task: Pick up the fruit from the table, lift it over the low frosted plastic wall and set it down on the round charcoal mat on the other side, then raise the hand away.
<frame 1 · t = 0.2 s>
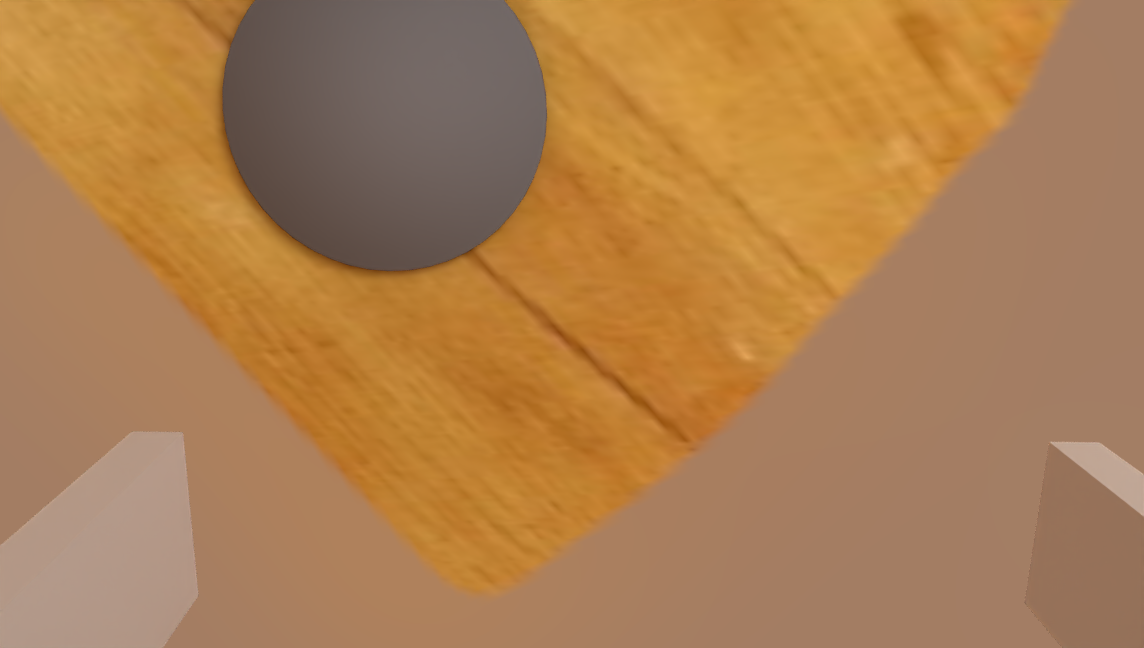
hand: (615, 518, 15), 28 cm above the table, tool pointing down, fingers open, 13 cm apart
mat: (388, 111, 40), on the table
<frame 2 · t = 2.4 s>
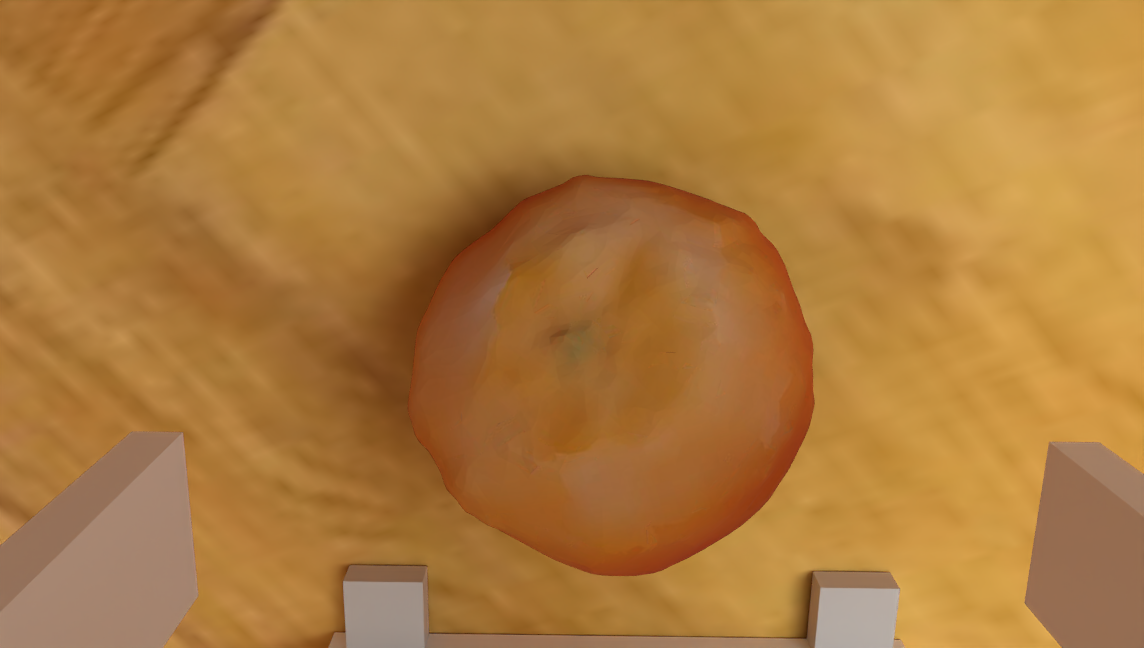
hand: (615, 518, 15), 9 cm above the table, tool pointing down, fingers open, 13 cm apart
fruit: (607, 324, 24), on the table
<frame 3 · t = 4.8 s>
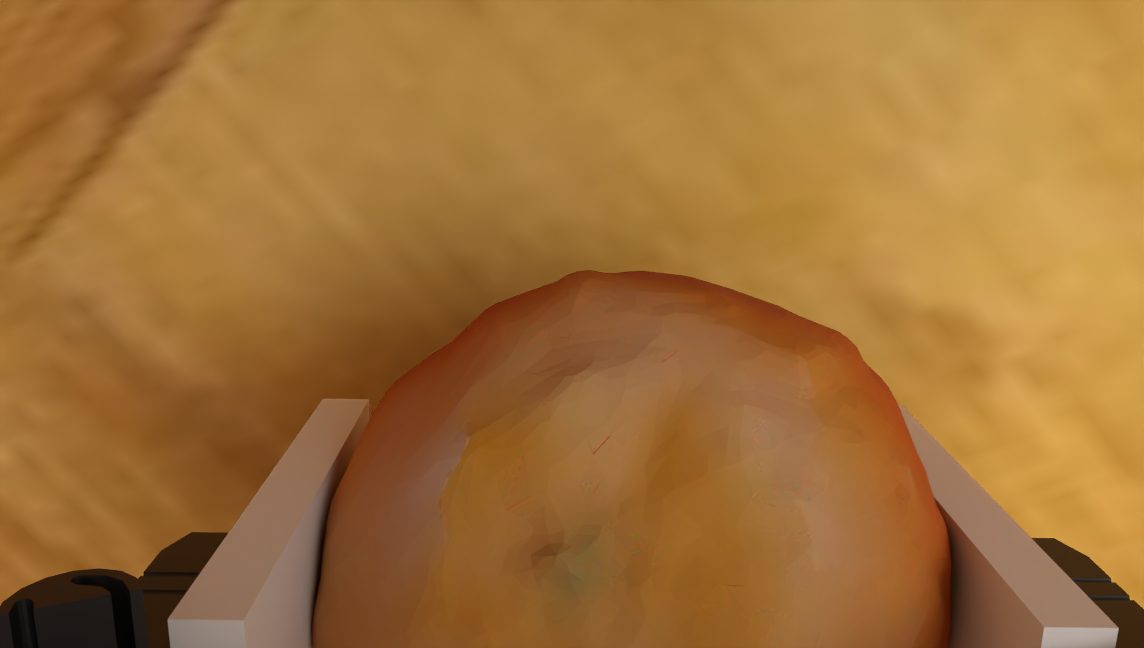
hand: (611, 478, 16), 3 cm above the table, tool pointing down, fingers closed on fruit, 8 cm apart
fruit: (616, 459, 17), point 3 cm above the table, touching gripper
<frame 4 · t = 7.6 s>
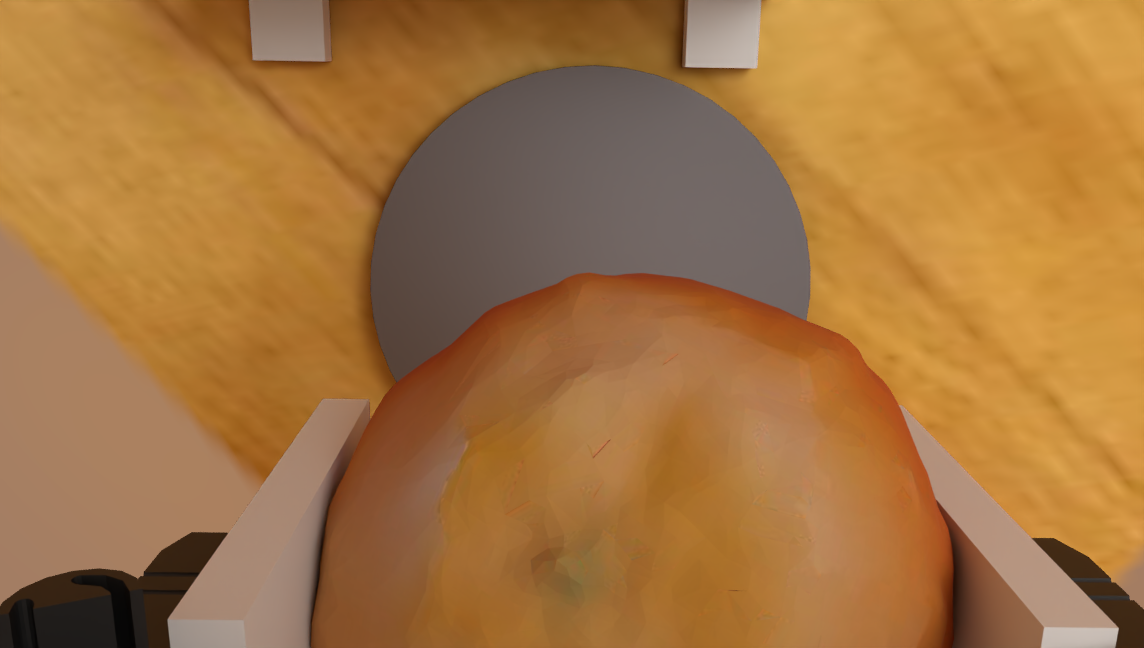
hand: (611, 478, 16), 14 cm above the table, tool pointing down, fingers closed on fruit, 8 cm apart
mat: (590, 286, 30), on the table
fruit: (616, 461, 17), point 13 cm above the table, touching gripper
when the fingers open (1 cm above the table, at t = 10.6 s): fruit stays where it is, resting on mat.
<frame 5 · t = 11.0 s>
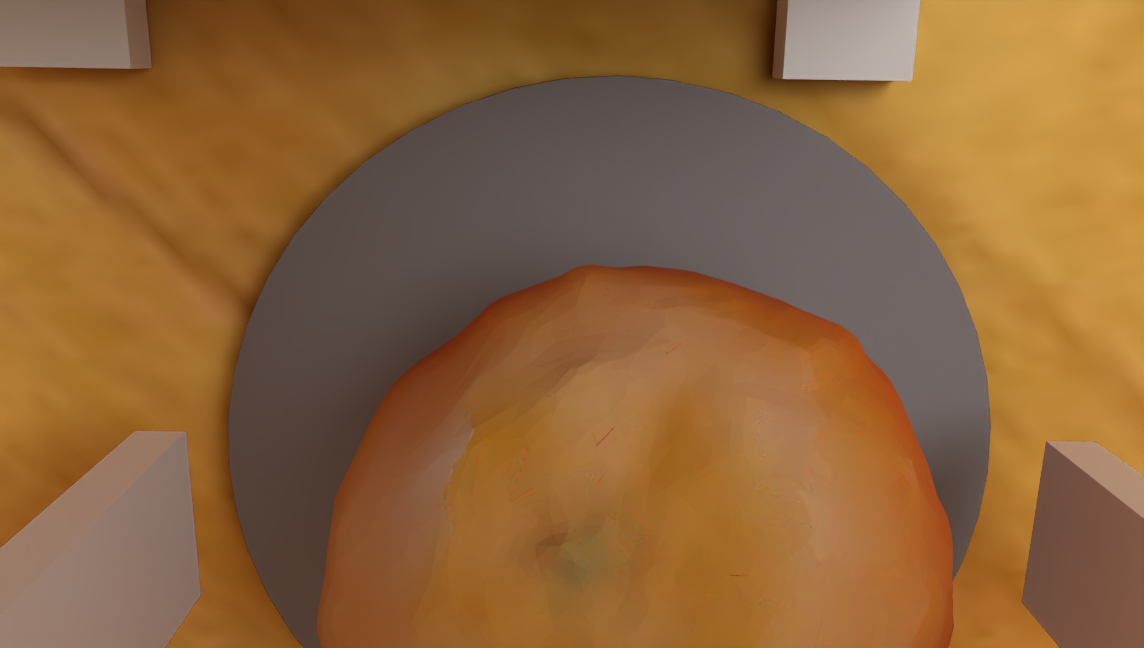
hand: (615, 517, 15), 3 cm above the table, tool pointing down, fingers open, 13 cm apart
mat: (607, 449, 18), on the table
fruit: (619, 454, 17), point 1 cm above the table, touching mat
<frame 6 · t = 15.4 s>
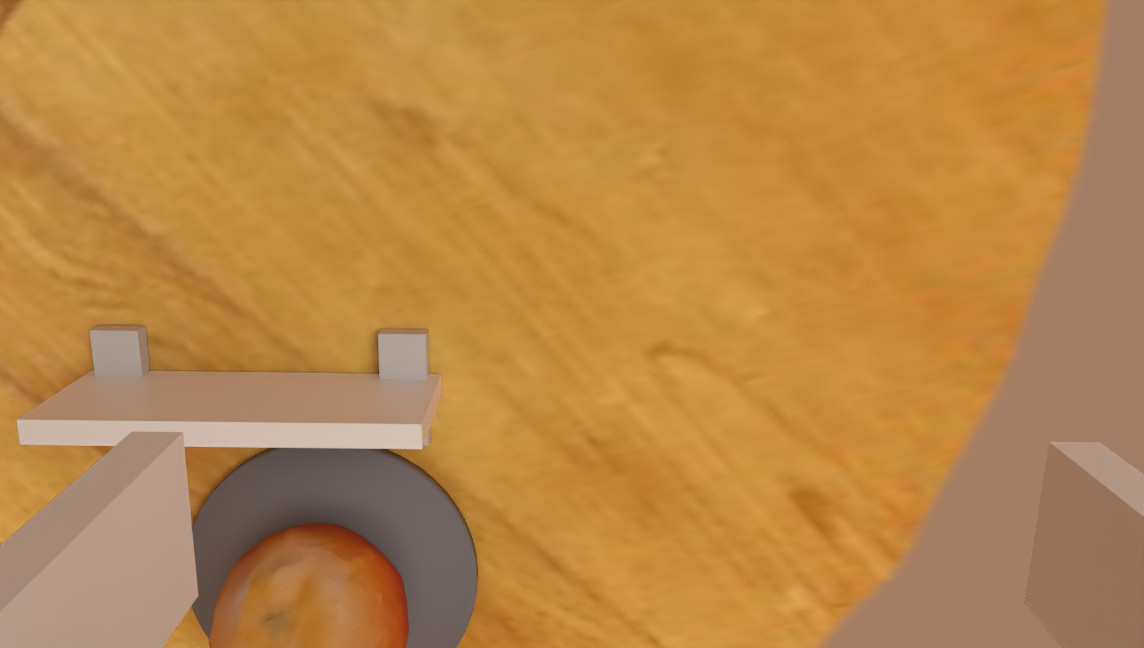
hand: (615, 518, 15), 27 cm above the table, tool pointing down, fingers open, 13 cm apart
mat: (335, 570, 45), on the table
wall: (267, 383, 42), on the table
fruit: (336, 574, 44), point 1 cm above the table, touching mat
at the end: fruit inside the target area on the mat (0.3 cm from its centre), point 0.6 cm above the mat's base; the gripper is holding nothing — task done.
